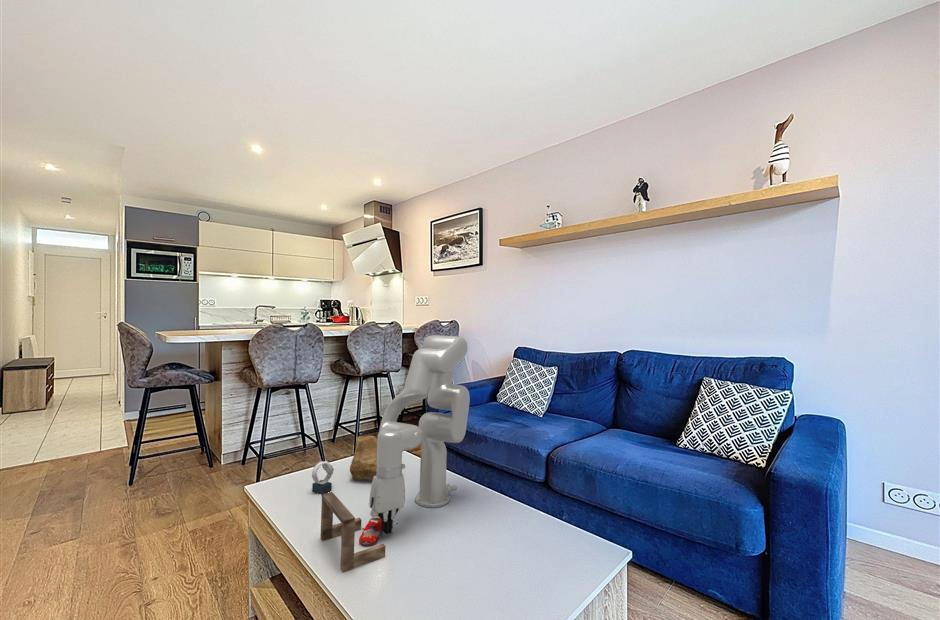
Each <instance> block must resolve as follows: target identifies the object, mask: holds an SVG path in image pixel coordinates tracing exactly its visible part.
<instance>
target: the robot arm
mask: <svg viewBox="0 0 940 620" xmlns="http://www.w3.org/2000/svg"><path fill="white" fill-rule="evenodd" d="M422 346H423V348H419V349H417V350H416V351H414V353H413V356H412V358H411V362H410V365H409V368H408V373H407V376H406V380H405V384H404V386H403V389H402V391H401V392H400V393H398V394H397V395H396V396H395V397H394V398H393V399H392V400H391V402H390V403H388V405H387V406H386V408H385V410H384V412H383V414H382V415H383V416H382V418H381V422H380V425H379V429H378V433H377V469H376V476H374V477H373V480H371V486H370V492H369V503H368V505H369V508H370V509H371V510H370V514H369V515H370V516H371V518H372V517H380V518H381V519H382V531H383V532H382V533H384V534H385V535H390V534H393V533H392V531H393V528H394V519H396V515H397V514H398V513H399V512H400V511H401V510H404V508H405V503H406V484H405V477H404V474H403V469H406V464H405V463H403V452H405V451H411V450H414V449H416V448H417V447H419V446H420V463H419V464H420V466H419V467H420V469H419V470H420V471H419V492H418V493H416V494H415V496H414V502H416V504H417V505H418V506H419V505H420V506H421V507H425V508H439V507H442V506H445V505H447V504H448V503H449V502H450V500H451V499H450V498H451V497H450V493H451V492H454V491H456V490H457V489H458V486H457V485H456V484H452V485H451V484H450V483H447V459H448V458H447V456H448V455H447V454H448V452H447V451H448V450H447V448H446V447H447V446H446V445H445V443H453V444H458V443H461V442H462V441H463V440H464V438H465V435H466V433H467V425H468V416H469V409H470V401H471V399H470V391H469V390H468V388H467V387H466V386H464V385H460V384H455V383H454V384H453V382H454V381H453V380H454V373H455V372H454V369H455V368H457V367H458V365H459V364H460V363H461V361H463V360H464V359H465V357H466V355H467V352H468V343H467V340H466V338H464V337H463V336H457V335H456V336H455V335H437V334H436V335H433V334H432V335H428V336H426V337H424V340H423V343H422ZM424 399H427V404H428V406H429V407H430V408H433V409H436V410H437V409H438V410H443V411H450V412H451V414H450V413H442V412H434V411H433V412H432V411H429V412H426V413H424V414H423V415H421V417H420V418H419V421H418V425H414V424H412V423H411V424H410V423H404V422H398V418H399V415H400V413H402V411H403V410H404V409H405V408H407V407H408V406H410V405H412V404H414V403H416V402H419V401H422V400H424Z"/></svg>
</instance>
